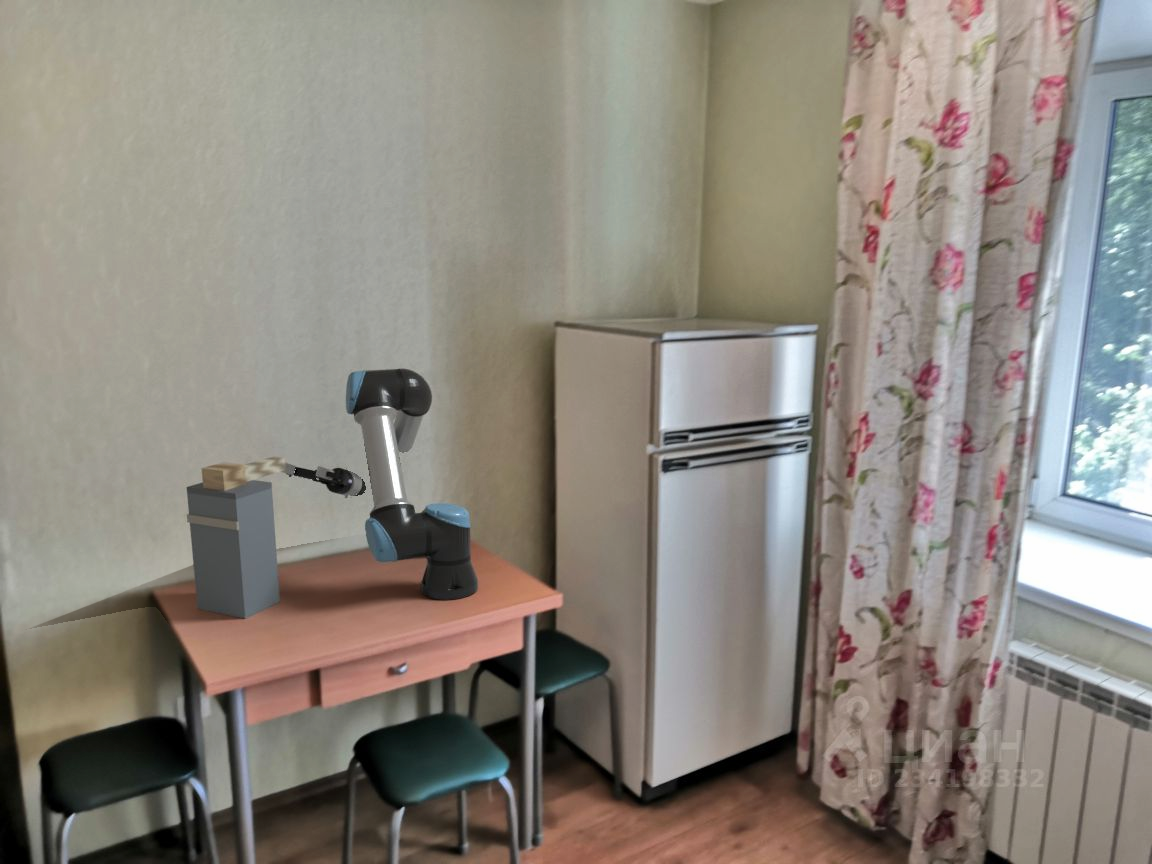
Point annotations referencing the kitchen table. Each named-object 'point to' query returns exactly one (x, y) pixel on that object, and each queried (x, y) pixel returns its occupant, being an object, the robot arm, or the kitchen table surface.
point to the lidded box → (234, 548)
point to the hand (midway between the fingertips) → (297, 468)
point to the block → (239, 473)
